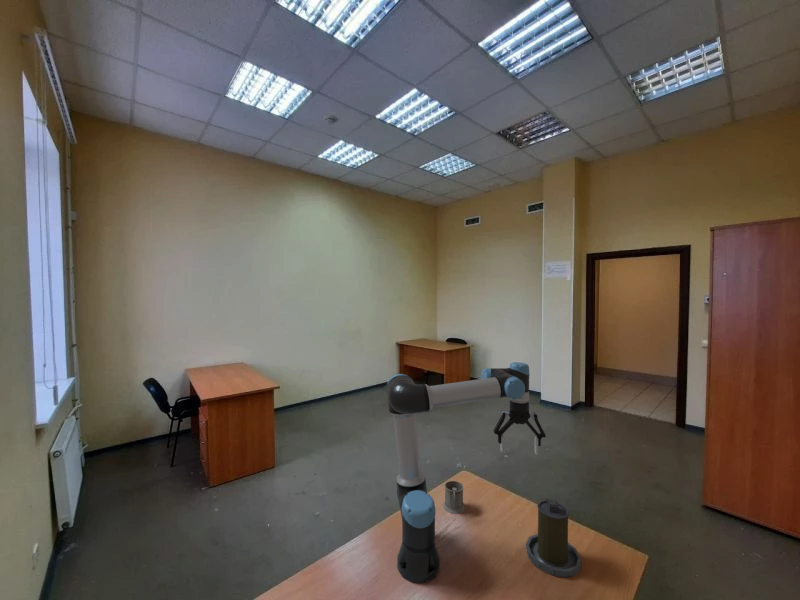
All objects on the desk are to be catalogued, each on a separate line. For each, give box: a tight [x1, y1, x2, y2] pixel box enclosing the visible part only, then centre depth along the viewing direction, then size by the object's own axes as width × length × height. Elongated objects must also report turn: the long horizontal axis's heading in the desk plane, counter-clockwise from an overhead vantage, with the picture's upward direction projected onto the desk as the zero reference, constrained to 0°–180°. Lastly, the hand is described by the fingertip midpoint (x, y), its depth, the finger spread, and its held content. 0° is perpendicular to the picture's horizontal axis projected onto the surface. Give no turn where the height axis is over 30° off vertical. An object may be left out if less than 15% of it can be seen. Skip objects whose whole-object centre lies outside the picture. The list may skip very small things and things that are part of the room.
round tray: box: [525, 533, 582, 578], centre depth 122 cm, size 18×18×2 cm
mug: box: [442, 480, 466, 515], centre depth 149 cm, size 14×10×12 cm
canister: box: [537, 498, 569, 567], centre depth 121 cm, size 11×10×20 cm
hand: (518, 452), depth 136 cm, fingers open, 13 cm apart
